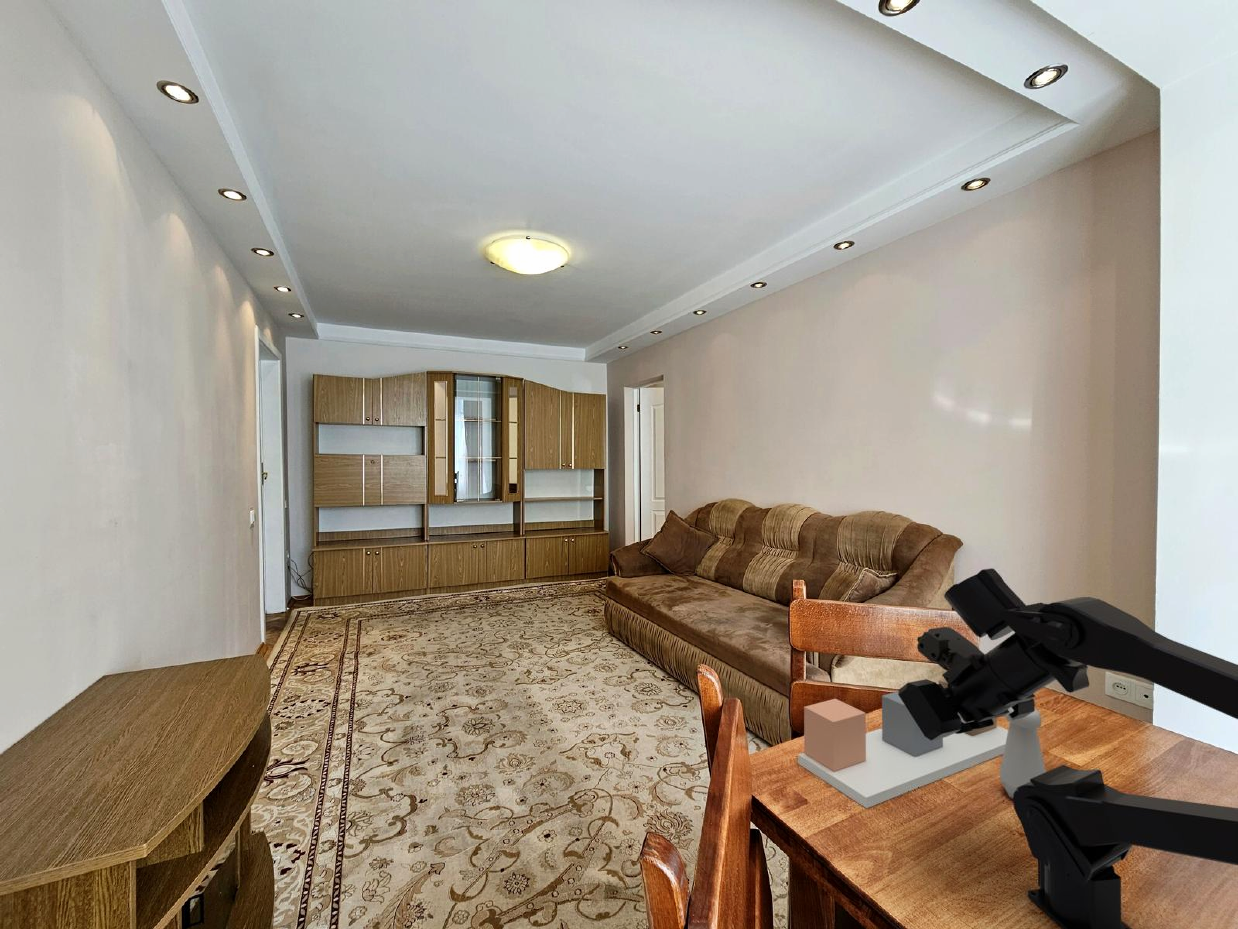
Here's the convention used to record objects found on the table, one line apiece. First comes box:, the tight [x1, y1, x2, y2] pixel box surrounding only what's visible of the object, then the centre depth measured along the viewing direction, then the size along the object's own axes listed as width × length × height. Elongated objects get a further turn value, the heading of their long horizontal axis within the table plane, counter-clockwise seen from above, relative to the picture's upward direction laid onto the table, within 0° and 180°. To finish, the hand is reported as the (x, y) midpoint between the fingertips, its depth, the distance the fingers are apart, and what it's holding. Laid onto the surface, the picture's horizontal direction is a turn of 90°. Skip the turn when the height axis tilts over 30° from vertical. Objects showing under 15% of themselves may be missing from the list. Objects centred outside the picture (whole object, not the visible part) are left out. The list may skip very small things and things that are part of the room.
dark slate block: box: [881, 690, 943, 756], centre depth 92 cm, size 6×7×8 cm
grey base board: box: [797, 725, 1008, 809], centre depth 91 cm, size 39×13×2 cm, turn 116°
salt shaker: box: [998, 707, 1047, 800], centre depth 80 cm, size 6×6×13 cm
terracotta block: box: [803, 698, 867, 771], centre depth 88 cm, size 6×7×8 cm
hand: (925, 728), depth 74 cm, fingers closed
